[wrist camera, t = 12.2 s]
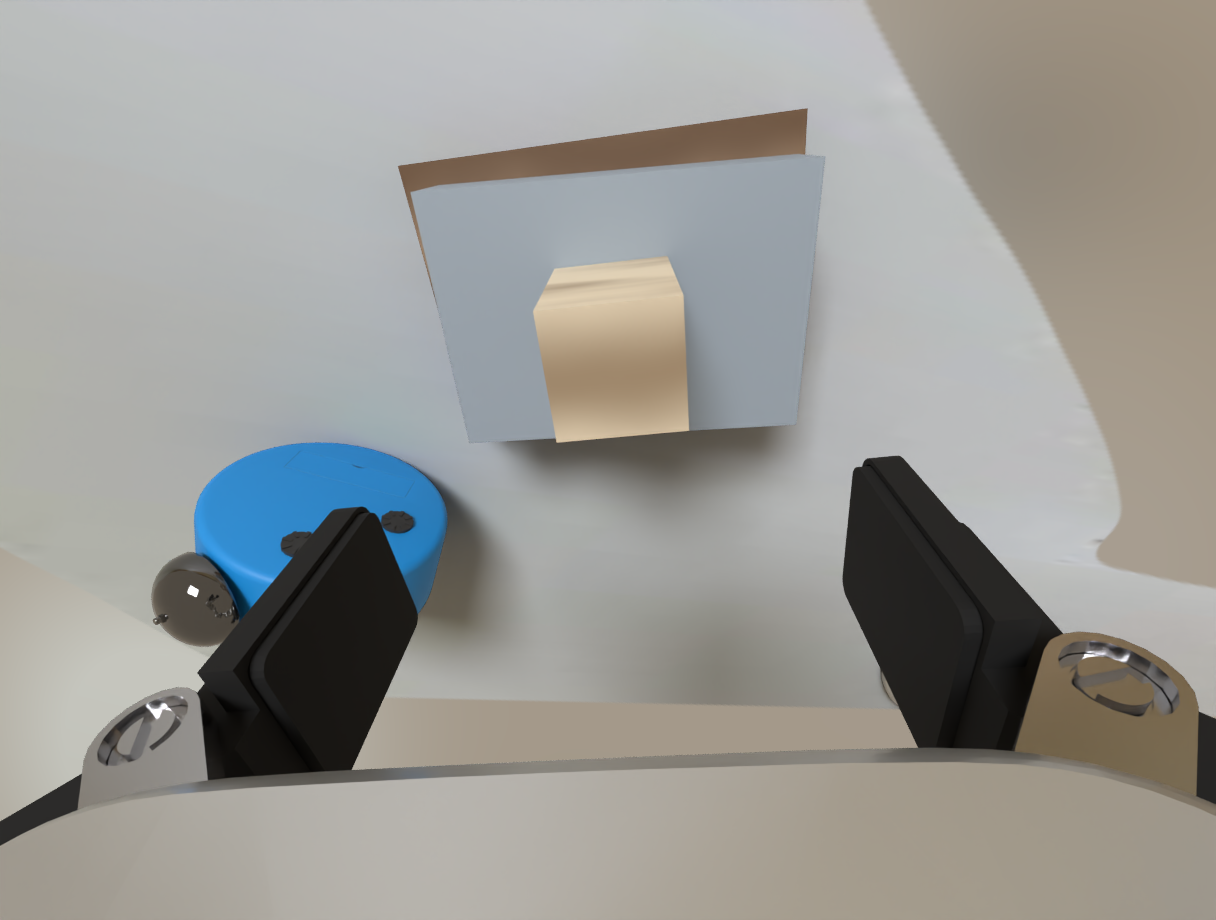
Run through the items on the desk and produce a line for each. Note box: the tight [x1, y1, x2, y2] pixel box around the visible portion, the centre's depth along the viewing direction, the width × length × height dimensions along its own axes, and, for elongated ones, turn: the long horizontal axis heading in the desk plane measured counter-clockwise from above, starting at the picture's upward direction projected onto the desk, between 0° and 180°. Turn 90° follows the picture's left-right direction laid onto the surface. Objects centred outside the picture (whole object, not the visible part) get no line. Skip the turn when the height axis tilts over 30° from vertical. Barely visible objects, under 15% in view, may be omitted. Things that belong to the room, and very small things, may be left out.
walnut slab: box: [398, 108, 808, 308], centre depth 30 cm, size 14×19×4 cm
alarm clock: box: [151, 443, 448, 647], centre depth 33 cm, size 13×6×15 cm, turn 70°
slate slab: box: [410, 154, 825, 443], centre depth 27 cm, size 12×17×4 cm
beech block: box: [533, 256, 689, 443], centre depth 22 cm, size 5×5×7 cm
